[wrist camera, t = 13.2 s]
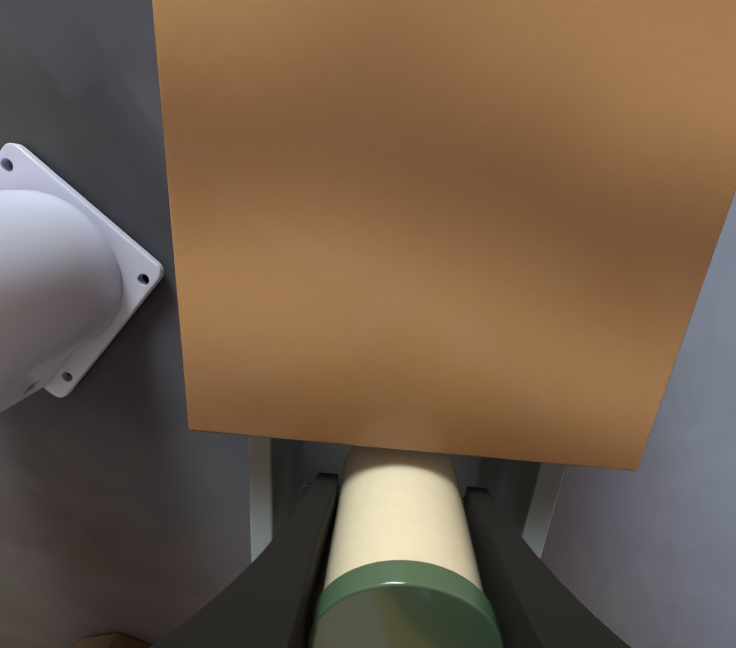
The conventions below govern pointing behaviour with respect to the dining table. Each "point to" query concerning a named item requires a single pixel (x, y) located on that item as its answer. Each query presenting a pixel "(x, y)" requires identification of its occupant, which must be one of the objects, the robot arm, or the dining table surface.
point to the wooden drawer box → (443, 215)
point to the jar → (401, 559)
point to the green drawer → (307, 458)
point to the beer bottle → (111, 642)
